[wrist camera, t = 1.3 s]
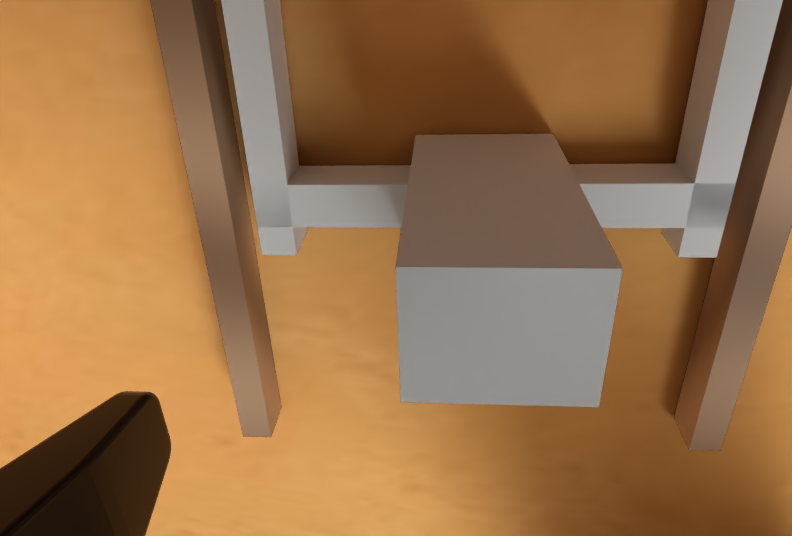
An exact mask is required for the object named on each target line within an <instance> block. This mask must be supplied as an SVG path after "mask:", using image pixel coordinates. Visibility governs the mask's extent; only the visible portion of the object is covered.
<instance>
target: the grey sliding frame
mask: <svg viewBox="0 0 792 536" xmlns="http://www.w3.org/2000/svg"><path fill="white" fill-rule="evenodd" d="M782 2H783V0H708V3H707V8H706V13H705V18H704V23H703V28H702V33H701V38H700V43H699V48H698V53H697V58H696V63H695V68H694V73H693V78H692V83H691V88H690V92H689V97H688V102H687V107H686V112H685V117H684V122H683V127H682V132H681V137H680V142H679V147H678V152H677V157H676V162H675V163H657V164H569V163H568V161H567V159H566V157H565V155H564V153H563V151H562V150H561V148H560V146H559V144H558V142H557V140H556V138H555V136H554V134H553V133H549V134H452V135H415V142H414V148H413V155H412V162H411V165H342V166H299V159H298V151H297V142H296V134H295V125H294V116H293V108H292V99H291V91H290V82H289V73H288V65H287V56H286V48H285V39H284V31H283V22H282V13H281V5H280V0H221V3H222V9H223V15H224V21H225V28H226V34H227V40H228V46H229V53H230V59H231V65H232V71H233V78H234V84H235V90H236V96H237V103H238V109H239V115H240V121H241V128H242V134H243V140H244V146H245V153H246V159H247V165H248V171H249V177H250V184H251V190H252V196H253V202H254V209H255V215H256V221H257V227H258V234H259V240H260V246H261V252H262V255H297V253H298V251H299V248H300V246H301V244H302V242H303V240H304V237H305V235H306V233H307V228H306V227H369V228H401V234H400V241H399V247H398V254H397V261H396V293H397V319H398V345H399V372H400V398H401V402H409V403H449V404H488V405H528V406H568V407H599V404H600V398H601V393H602V387H603V381H604V375H605V369H606V364H607V358H608V352H609V346H610V341H611V335H612V329H613V323H614V317H615V312H616V306H617V300H618V294H619V289H620V283H621V277H622V271H623V268H622V266H621V264H620V262H619V260H618V258H617V256H616V254H615V252H614V250H613V248H612V247H611V245H610V243H609V241H608V239H607V237H606V235H605V233H604V231H603V229H602V228H662V231H661V234H662V235H663V236H664V238H665V239H666V241H667V242H668V243H669V245H670V246H671V248H672V249H673V251H674V252H675V253H676V255H677V256H678V257H702V258H717V254H718V250H719V246H720V243H721V239H722V235H723V231H724V227H725V223H726V219H727V215H728V212H729V208H730V204H731V200H732V196H733V192H734V188H735V184H736V180H737V177H738V173H739V169H740V165H741V161H742V157H743V153H744V149H745V146H746V142H747V138H748V134H749V130H750V126H751V122H752V118H753V114H754V111H755V107H756V103H757V99H758V95H759V91H760V87H761V83H762V80H763V76H764V72H765V68H766V64H767V60H768V56H769V52H770V48H771V45H772V41H773V37H774V33H775V29H776V25H777V21H778V17H779V13H780V10H781V6H782Z"/></svg>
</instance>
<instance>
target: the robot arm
mask: <svg viewBox="0 0 792 536" xmlns="http://www.w3.org/2000/svg"><path fill="white" fill-rule="evenodd" d="M170 453H171V441H170V436H169V433H168V429H167V426H166V422H165V419H164V416H163V412H162V409H161V405H160V402H159V400H158V398H157V396H156V395H155V394H154V393H151V392H135V391H125V392H120V393H118V394H116V395H114V396H113V397H111V398H110V399H108V400H107V401H105V402H104V403H102V404H100V405H99V406H97V407H96V408H94V409H93V410H91V411H89V412H88V413H86V414H85V415H83V416H82V417H80V418H79V419H77V420H75V421H74V422H72V423H71V424H69V425H68V426H66V427H64V428H63V429H61V430H60V431H58V432H57V433H55V434H54V435H52V436H50V437H49V438H47V439H46V440H44V441H43V442H41V443H39V444H38V445H36V446H35V447H33V448H32V449H30V450H29V451H27V452H25V453H24V454H22V455H21V456H19V457H18V458H16V459H14V460H13V461H11V462H10V463H8V464H7V465H5V466H4V467H2V468H0V536H145V535H146V532H147V529H148V525H149V522H150V519H151V516H152V513H153V510H154V507H155V503H156V500H157V497H158V494H159V491H160V488H161V484H162V481H163V478H164V475H165V472H166V469H167V465H168V462H169V459H170Z"/></svg>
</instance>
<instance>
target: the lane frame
mask: <svg viewBox="0 0 792 536" xmlns="http://www.w3.org/2000/svg"><path fill="white" fill-rule="evenodd" d="M150 2H151V6H152V11H153V16H154V20H155V25H156V30H157V35H158V39H159V44H160V49H161V53H162V58H163V63H164V67H165V72H166V77H167V81H168V86H169V91H170V96H171V100H172V105H173V110H174V114H175V119H176V124H177V128H178V133H179V138H180V143H181V147H182V152H183V157H184V161H185V166H186V171H187V175H188V180H189V185H190V189H191V194H192V199H193V204H194V208H195V213H196V218H197V222H198V227H199V232H200V236H201V241H202V246H203V250H204V255H205V260H206V265H207V269H208V274H209V279H210V283H211V288H212V293H213V297H214V302H215V307H216V312H217V316H218V321H219V326H220V330H221V335H222V340H223V344H224V349H225V354H226V358H227V363H228V368H229V373H230V377H231V382H232V387H233V391H234V396H235V401H236V405H237V410H238V415H239V420H240V424H241V429H242V434H243V437H272V434H273V431H274V428H275V425H276V422H277V419H278V416H279V414H280V411H281V408H282V407H281V401H280V395H279V389H278V383H277V377H276V371H275V365H274V359H273V353H272V347H271V341H270V335H269V329H268V323H267V317H266V311H265V305H264V299H263V292H262V286H261V280H260V274H259V268H258V262H257V256H256V250H255V244H254V238H253V232H252V226H251V220H250V214H249V208H248V202H247V196H246V190H245V184H244V178H243V172H242V166H241V159H240V153H239V147H238V141H237V135H236V129H235V123H234V117H233V111H232V105H231V99H230V93H229V87H228V81H227V75H226V69H225V63H224V57H223V51H222V45H221V39H220V33H219V26H218V20H217V14H216V8H215V2H214V0H150ZM791 228H792V0H783V2H782V6H781V10H780V13H779V17H778V21H777V25H776V29H775V33H774V37H773V41H772V45H771V48H770V52H769V56H768V60H767V64H766V68H765V72H764V76H763V80H762V83H761V87H760V91H759V95H758V99H757V103H756V107H755V111H754V114H753V118H752V122H751V126H750V130H749V134H748V138H747V142H746V146H745V149H744V153H743V157H742V161H741V165H740V169H739V173H738V177H737V180H736V184H735V188H734V192H733V196H732V200H731V204H730V208H729V212H728V215H727V219H726V223H725V227H724V231H723V235H722V239H721V243H720V246H719V250H718V254H717V258H715V260H714V264H713V267H712V271H711V275H710V279H709V283H708V287H707V291H706V295H705V299H704V303H703V307H702V310H701V314H700V318H699V322H698V326H697V330H696V334H695V338H694V342H693V346H692V349H691V353H690V357H689V361H688V365H687V369H686V373H685V377H684V381H683V385H682V389H681V392H680V396H679V400H678V404H677V408H676V412H675V416H674V419H675V421H676V423H677V426H678V428H679V430H680V432H681V434H682V436H683V438H684V441H685V443H686V445H687V447H688V449H689V450H702V451H721V448H722V445H723V442H724V439H725V435H726V432H727V429H728V426H729V423H730V420H731V417H732V413H733V410H734V407H735V404H736V401H737V398H738V394H739V391H740V388H741V385H742V382H743V379H744V376H745V372H746V369H747V366H748V363H749V360H750V357H751V354H752V350H753V347H754V344H755V341H756V338H757V335H758V331H759V328H760V325H761V322H762V319H763V316H764V313H765V309H766V306H767V303H768V300H769V297H770V294H771V291H772V287H773V284H774V281H775V278H776V275H777V272H778V269H779V265H780V262H781V259H782V256H783V253H784V250H785V246H786V243H787V240H788V237H789V234H790V231H791Z"/></svg>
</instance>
